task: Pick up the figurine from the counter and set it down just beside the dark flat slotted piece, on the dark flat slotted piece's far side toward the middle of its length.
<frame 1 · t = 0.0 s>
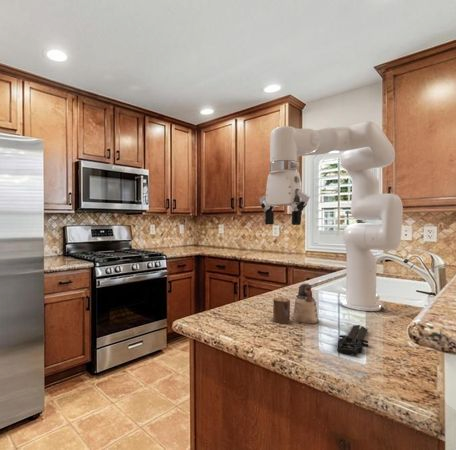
hand: (282, 224, 96), 31 cm above the counter, tool pointing down, fingers open, 9 cm apart
dark flat slotted piece: (353, 340, 85), on the counter
figurine: (305, 320, 102), on the counter
glossy brown cylinder: (281, 321, 101), on the counter
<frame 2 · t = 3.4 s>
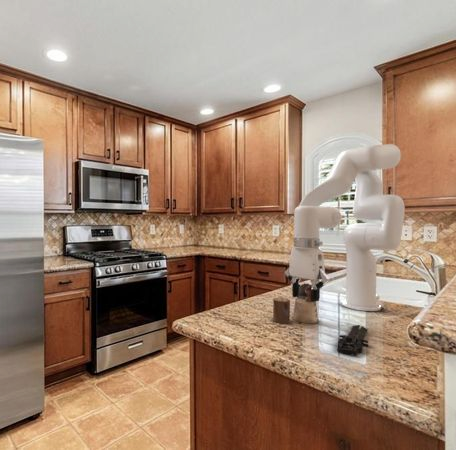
hand: (305, 298, 102), 7 cm above the counter, tool pointing down, fingers closed on figurine, 6 cm apart
figurine: (305, 320, 102), on the counter, touching gripper
everything else where it was.
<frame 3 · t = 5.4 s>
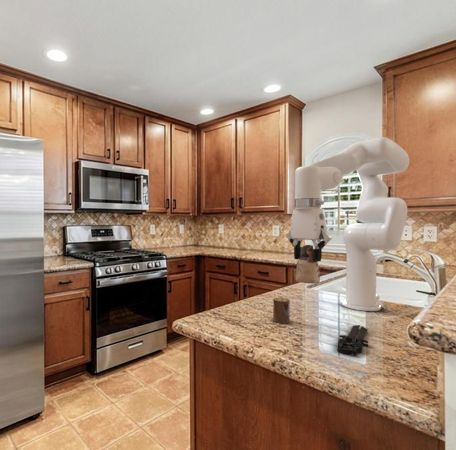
hand: (307, 259, 101), 20 cm above the counter, tool pointing down, fingers closed on figurine, 6 cm apart
figurine: (307, 281, 102), point 13 cm above the counter, touching gripper
everything else where it was.
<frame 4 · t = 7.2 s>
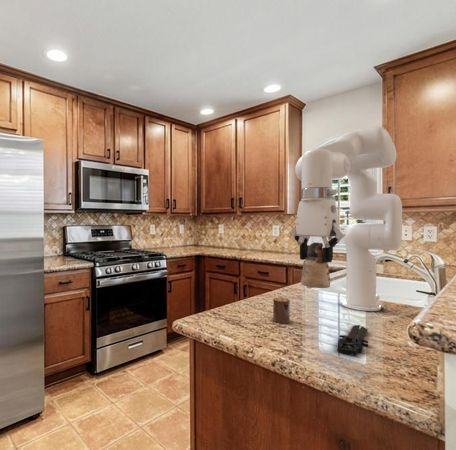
hand: (315, 260, 86), 22 cm above the counter, tool pointing down, fingers closed on figurine, 6 cm apart
figurine: (315, 286, 86), point 14 cm above the counter, touching gripper
everything else where it was.
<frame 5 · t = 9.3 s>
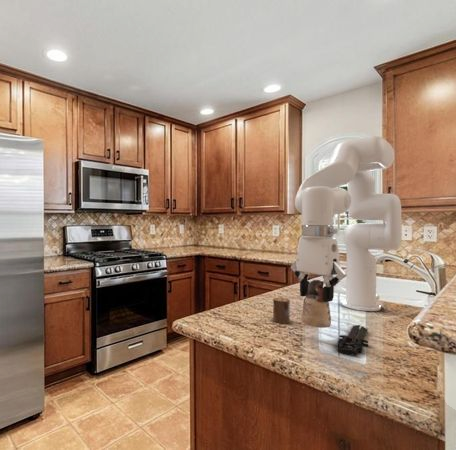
hand: (316, 297, 85), 11 cm above the counter, tool pointing down, fingers closed on figurine, 6 cm apart
figurine: (315, 324, 85), point 4 cm above the counter, touching gripper
everything else where it was.
when the fingers open (7 cm above the counter, at t = 10.9 s): figurine stays where it is, on the counter.
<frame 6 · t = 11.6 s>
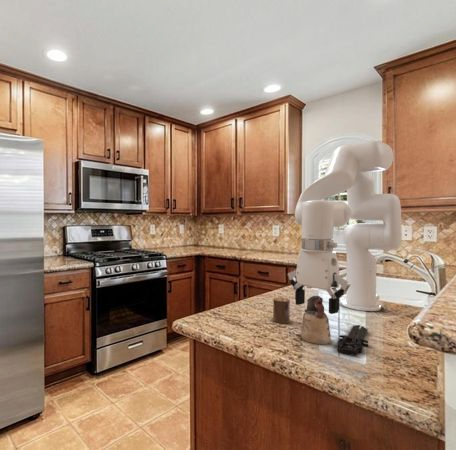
hand: (315, 308, 85), 9 cm above the counter, tool pointing down, fingers open, 9 cm apart
figurine: (315, 340, 85), on the counter
everything else where it was.
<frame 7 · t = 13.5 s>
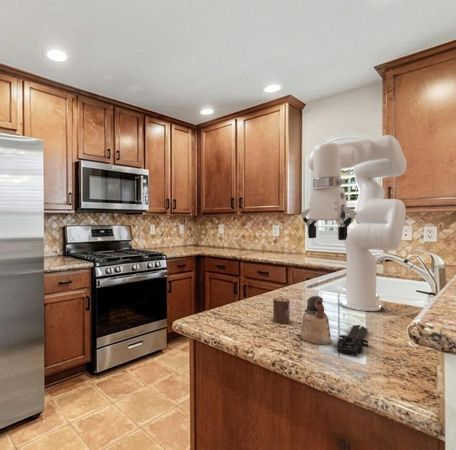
hand: (326, 238, 98), 27 cm above the counter, tool pointing down, fingers open, 9 cm apart
nothing on the counter moved.
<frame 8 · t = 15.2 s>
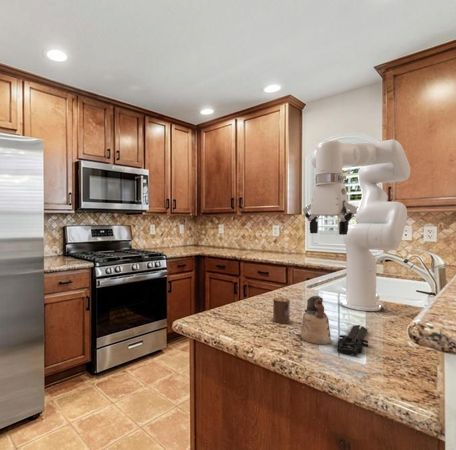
hand: (327, 233, 101), 28 cm above the counter, tool pointing down, fingers open, 9 cm apart
nothing on the counter moved.
at the end: figurine inside the target area on the counter beside the dark flat slotted piece (0.2 cm from its centre), on the counter; figurine tilted 0°; the gripper is holding nothing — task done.
